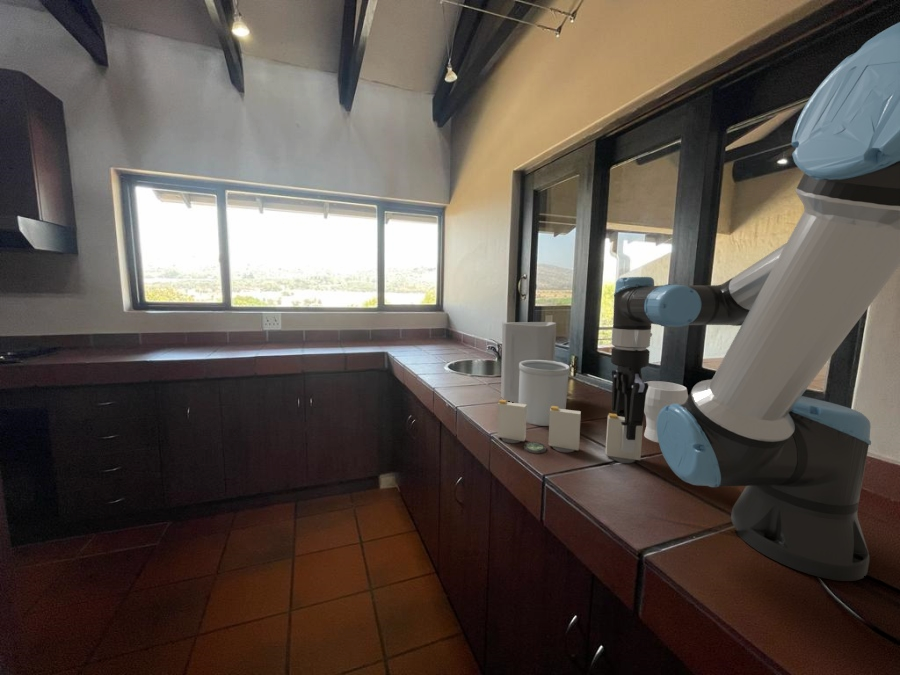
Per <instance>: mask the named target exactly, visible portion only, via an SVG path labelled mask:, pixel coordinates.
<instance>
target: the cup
mask: <svg viewBox="0 0 900 675" xmlns="http://www.w3.org/2000/svg"><path fill="white" fill-rule="evenodd" d="M644 383H648V390H647V393H646V399H645V407H644V416H645V421H646V425H645V426H646V427H645V430H644V432H643V436H644V438H646V439H647V440H650V441H651V442H654V443H658V444H659V441H658V437H657V418H658V415H659V412H660V411H661V409H662V408H664V407H665V406H668V405H671V404H679V405H682V404H684V403H685V402H686V400H687V398H688V396H689V394H688V388H687V387H686V386H684V385H682V384H679V383H674V382H670V381H669V382H668V381H658V380H657V381H656V380H652V381H646V382H645V381H644Z"/></svg>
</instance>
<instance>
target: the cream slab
mask: <svg viewBox="0 0 900 675" xmlns="http://www.w3.org/2000/svg"><path fill="white" fill-rule="evenodd" d="M526 414H527V404H519V403H512V402H508V401H507V400H503V399H502V398H501V399H500V400H498V403H497V427H496V428H497V433H496V434H497V435H496V436H497V437H498V438H501V441H502V442H505V443H507V444H518V443H521V442H525V440H526V438H527V422H526Z"/></svg>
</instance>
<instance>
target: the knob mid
mask: <svg viewBox="0 0 900 675" xmlns="http://www.w3.org/2000/svg"><path fill="white" fill-rule="evenodd" d="M581 412H582V411H580V410H573V409H572V410H571V409H558V406H551V409H550V418H549V426H548V446H550V447H552V449H553V450H554V451H557V452H558V453H564V454H570V453H574V452H575V451H579V448H580V434H581V433H580V432H581V416H582V415H581Z"/></svg>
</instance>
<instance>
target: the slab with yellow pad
mask: <svg viewBox="0 0 900 675" xmlns="http://www.w3.org/2000/svg"><path fill="white" fill-rule="evenodd" d="M606 419H607V423H606V438H605V439H606V440H605V455H606V456H607V457H609V458H611V459H612V460H613V461H615V462H617V463H618V462H619V463H622V464H632V463H635V462H636V461H641V458H642V457H641V456H642V455H641V454H642V444H643V443H642V441H643V433H644V432H643V431H644V424H643V425H642V426H636V441H635V453H626V452H621V440H622V424H621V422H625V417H620V416H617V414H615V413H610V412H609V413H608V414H607V418H606Z"/></svg>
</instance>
